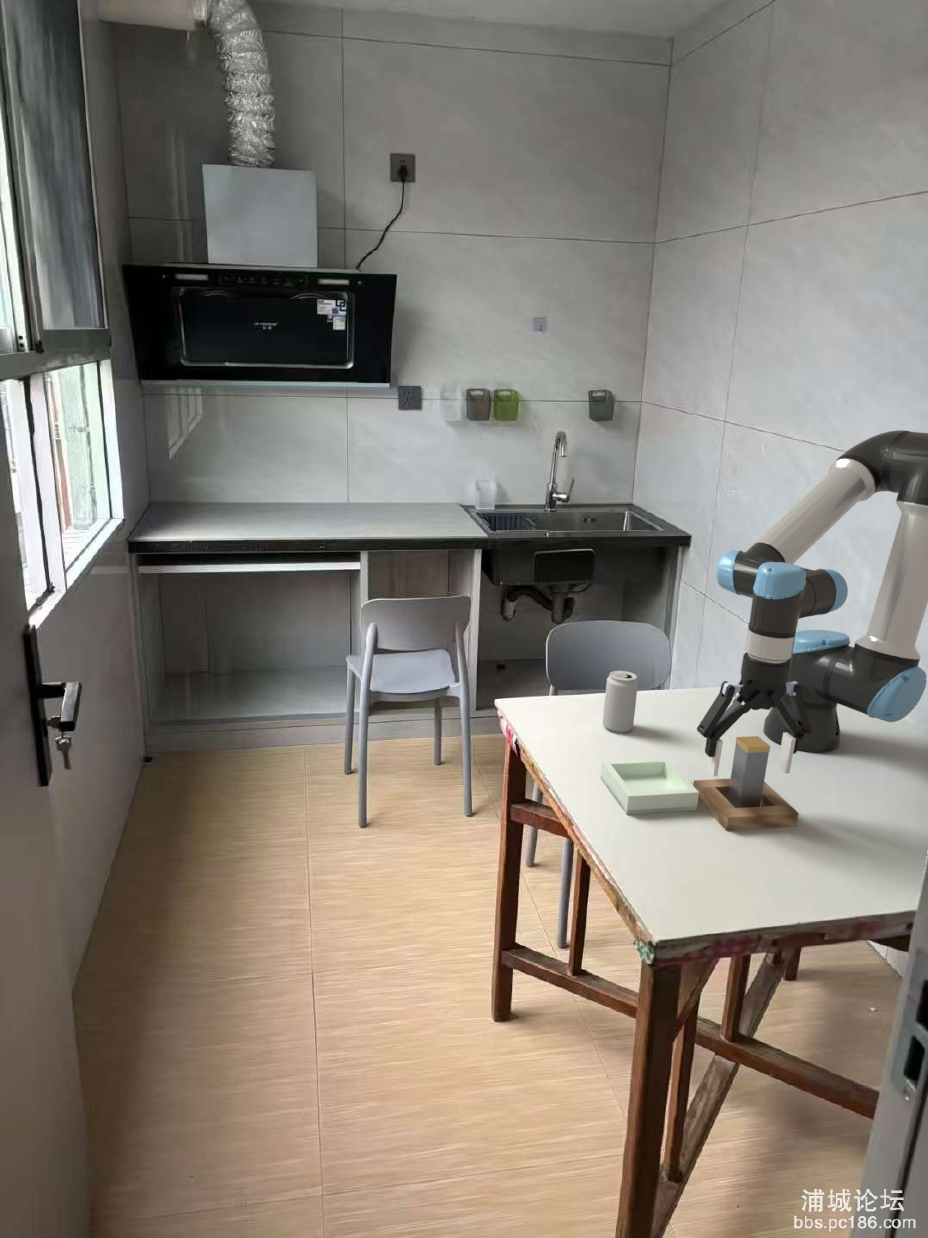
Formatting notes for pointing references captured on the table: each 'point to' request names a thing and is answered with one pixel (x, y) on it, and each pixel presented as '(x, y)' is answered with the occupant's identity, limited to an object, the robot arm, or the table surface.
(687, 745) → the table surface
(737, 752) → the strut
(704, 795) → the socket block
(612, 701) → the beverage can
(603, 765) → the bin
